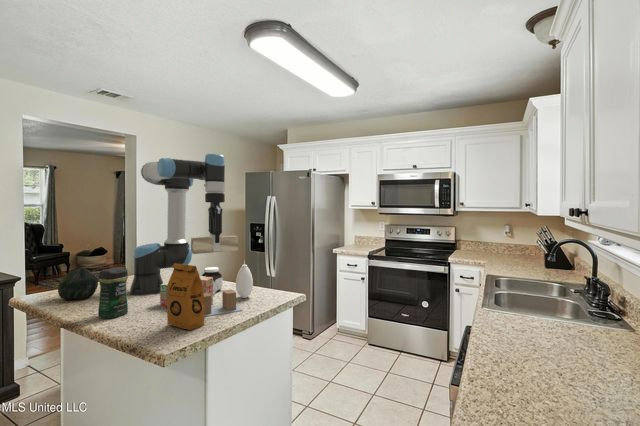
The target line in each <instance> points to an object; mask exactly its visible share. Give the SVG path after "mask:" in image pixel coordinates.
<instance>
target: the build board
mask: <svg viewBox="0 0 640 426" xmlns="http://www.w3.org/2000/svg"><path fill="white" fill-rule="evenodd" d="M204 302H205V310H204V318H205V317H211V316H218V315H219V316H220V315H224V314H225V315H226V314H230V313H237V312H242V311H243V309H242V308H241V307H240V306H238V304H237V291H235V290H234V289H225V290H222V303H221V304H222V305H219V306H218V305H217V306H212V305H211V295H210V294H209V293H208V292H207V293H204Z"/></svg>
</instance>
